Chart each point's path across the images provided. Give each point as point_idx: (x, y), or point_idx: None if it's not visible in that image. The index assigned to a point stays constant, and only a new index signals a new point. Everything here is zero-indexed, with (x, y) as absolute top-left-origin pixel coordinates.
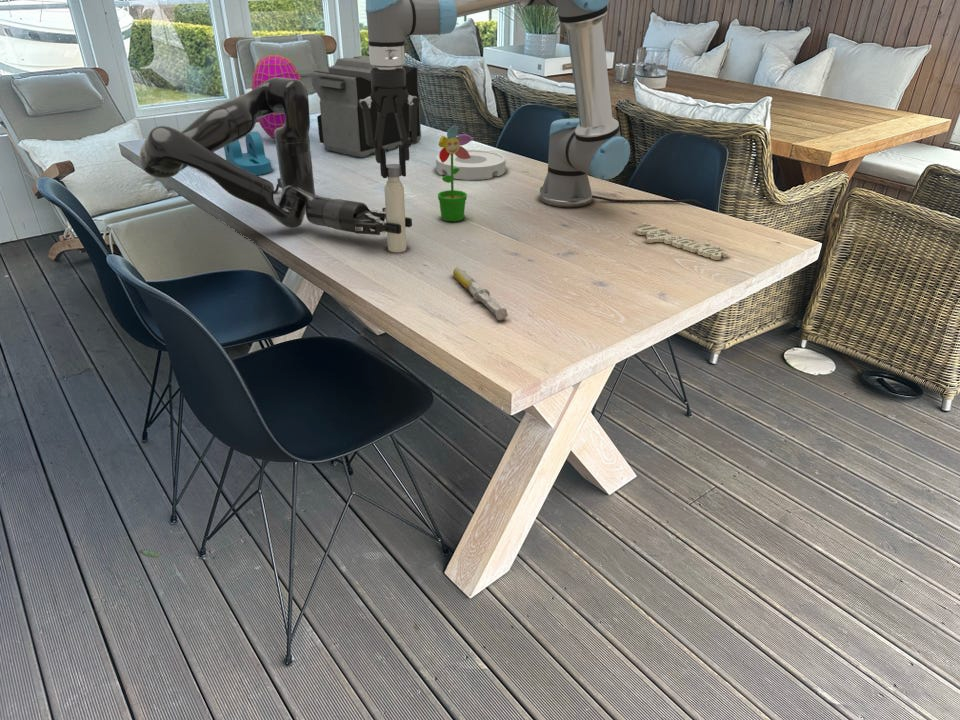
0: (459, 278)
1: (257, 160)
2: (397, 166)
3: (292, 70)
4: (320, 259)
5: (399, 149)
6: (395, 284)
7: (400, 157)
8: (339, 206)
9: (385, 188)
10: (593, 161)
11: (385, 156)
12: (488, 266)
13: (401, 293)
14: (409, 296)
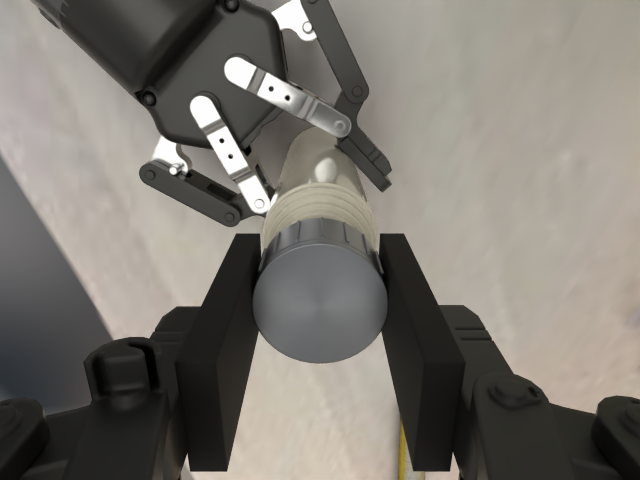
0: (400, 449)
1: None
2: (349, 332)
3: None
4: (52, 160)
5: (412, 368)
6: (251, 388)
7: (397, 343)
8: (53, 1)
9: (264, 247)
10: None
11: (237, 415)
12: (520, 365)
13: (253, 432)
14: (267, 449)
